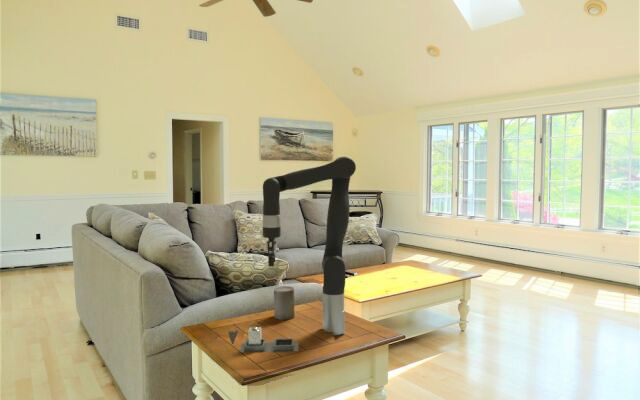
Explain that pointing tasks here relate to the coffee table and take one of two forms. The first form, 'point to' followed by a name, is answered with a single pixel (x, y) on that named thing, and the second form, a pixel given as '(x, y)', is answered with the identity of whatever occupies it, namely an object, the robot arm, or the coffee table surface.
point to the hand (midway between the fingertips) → (271, 264)
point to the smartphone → (233, 335)
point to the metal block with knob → (255, 336)
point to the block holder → (271, 346)
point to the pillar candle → (284, 302)
